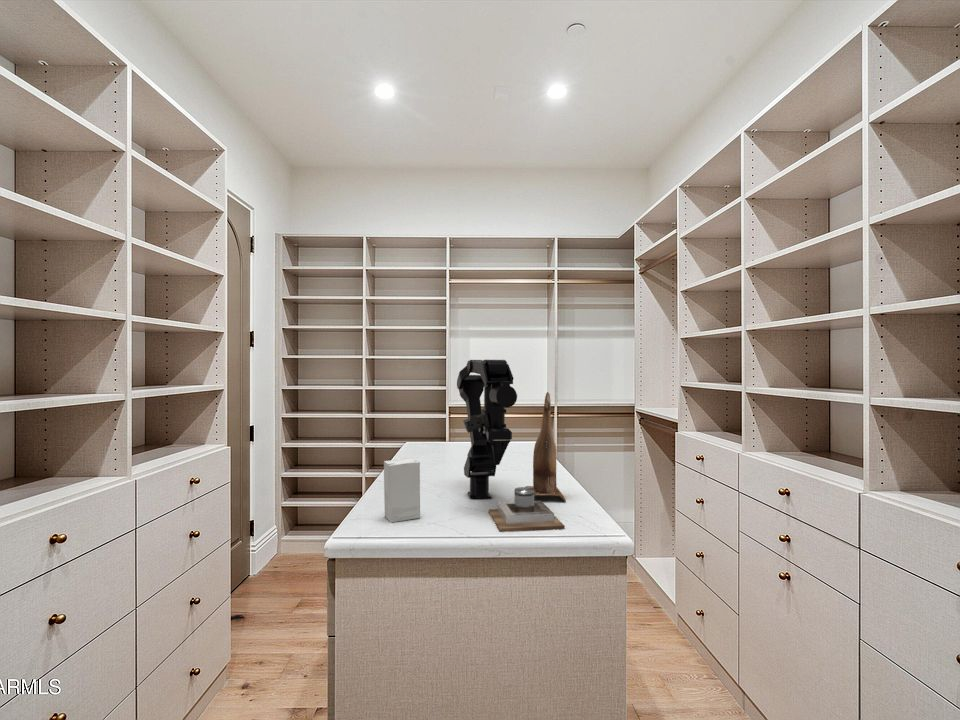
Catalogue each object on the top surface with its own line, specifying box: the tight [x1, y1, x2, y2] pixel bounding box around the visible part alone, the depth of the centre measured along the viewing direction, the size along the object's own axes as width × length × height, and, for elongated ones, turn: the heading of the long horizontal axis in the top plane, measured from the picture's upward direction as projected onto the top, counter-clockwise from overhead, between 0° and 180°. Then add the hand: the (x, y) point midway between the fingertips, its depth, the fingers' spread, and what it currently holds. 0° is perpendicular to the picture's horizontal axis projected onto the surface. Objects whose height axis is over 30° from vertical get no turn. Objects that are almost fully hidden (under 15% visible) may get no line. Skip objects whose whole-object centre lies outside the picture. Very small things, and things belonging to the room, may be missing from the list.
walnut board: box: [488, 508, 566, 533], centre depth 127 cm, size 16×16×1 cm
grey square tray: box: [496, 500, 555, 525], centre depth 127 cm, size 12×12×2 cm
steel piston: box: [513, 486, 535, 513], centre depth 127 cm, size 5×5×7 cm
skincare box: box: [383, 457, 421, 524], centre depth 128 cm, size 8×6×15 cm
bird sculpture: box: [525, 391, 567, 503], centre depth 149 cm, size 11×12×32 cm
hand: (494, 461), depth 137 cm, fingers open, 9 cm apart
